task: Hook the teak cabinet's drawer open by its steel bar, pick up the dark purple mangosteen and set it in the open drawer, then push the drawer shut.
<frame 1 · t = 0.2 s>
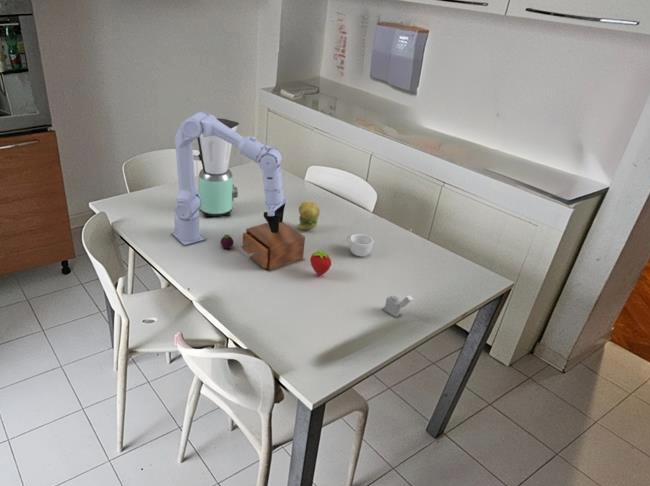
hand: (277, 227, 171), 10 cm above the table, tool pointing down, fingers open, 7 cm apart
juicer: (213, 211, 203), on the table
mangosteen: (226, 248, 179), on the table
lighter: (395, 315, 150), on the table
strawberry: (318, 276, 166), on the table
teacup: (357, 252, 179), on the table
cabinet: (273, 255, 176), on the table
hamburger: (307, 230, 192), on the table
drawer: (263, 247, 171), point 4 cm above the table, slide at 0.5 cm
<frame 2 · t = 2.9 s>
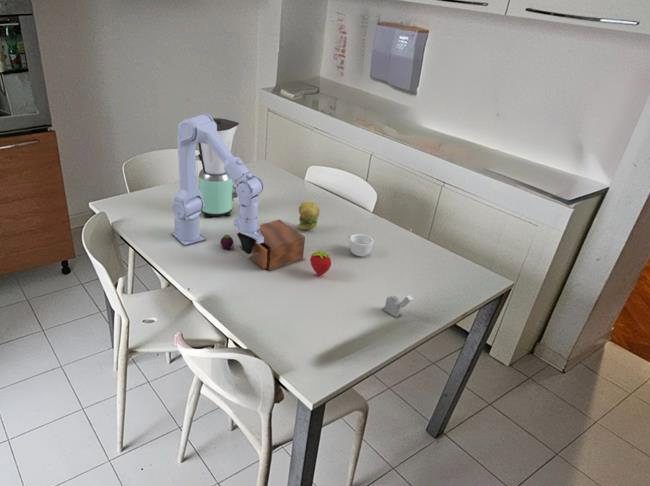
hand: (247, 253, 169), 4 cm above the table, tool pointing down, fingers closed, pressing on drawer
drawer: (262, 247, 171), point 4 cm above the table, slide at 0.7 cm, touching gripper
everything else where it was.
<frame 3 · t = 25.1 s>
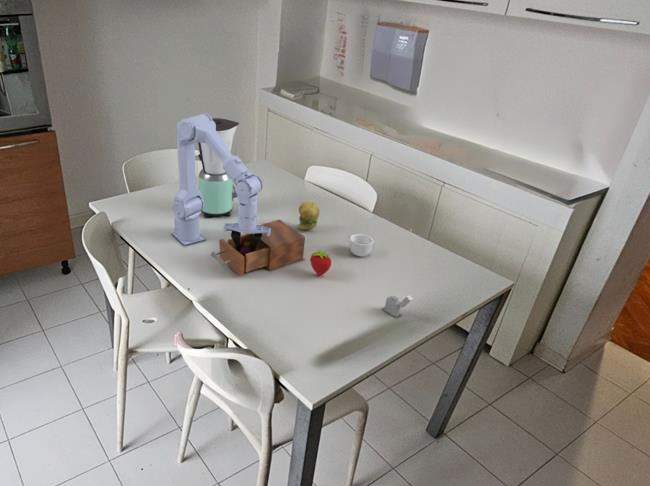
hand: (246, 252, 168), 4 cm above the table, tool pointing down, fingers closed on mangosteen, 4 cm apart
mangosteen: (246, 256, 169), point 3 cm above the table, touching gripper
drawer: (240, 254, 167), point 4 cm above the table, slide at 9.4 cm
everything else where it was.
when the fingers open (6 cm above the table, at t = 28.3 s): mangosteen drops 2 cm, resting on drawer.
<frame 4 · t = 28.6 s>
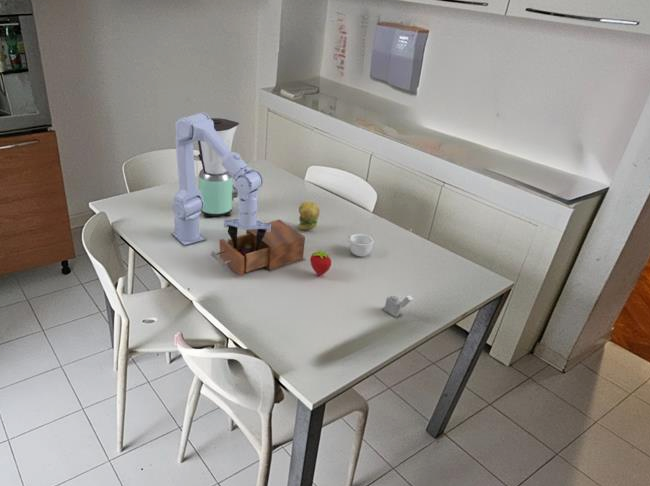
hand: (246, 248, 168), 6 cm above the table, tool pointing down, fingers open, 6 cm apart
mangosteen: (246, 258, 170), point 2 cm above the table, tilted 6°, touching drawer
drawer: (240, 254, 167), point 4 cm above the table, slide at 9.4 cm, touching mangosteen
everything else where it was.
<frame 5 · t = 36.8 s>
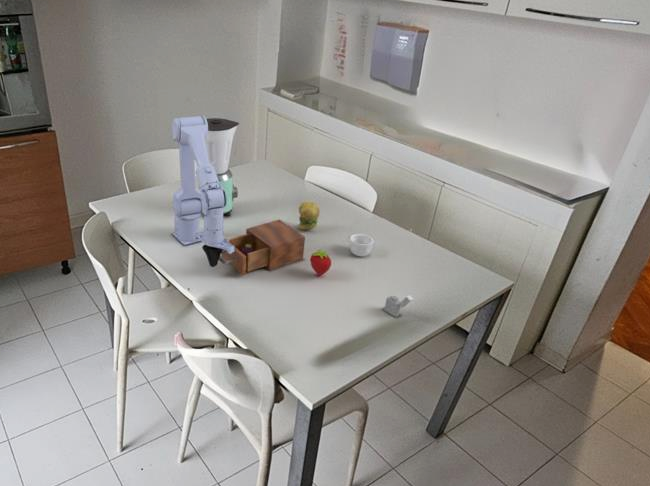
hand: (213, 265, 163), 3 cm above the table, tool pointing down, fingers closed
mangosteen: (247, 258, 170), point 2 cm above the table, touching drawer
drawer: (241, 254, 168), point 4 cm above the table, slide at 8.7 cm, touching gripper, mangosteen
everything else where it was.
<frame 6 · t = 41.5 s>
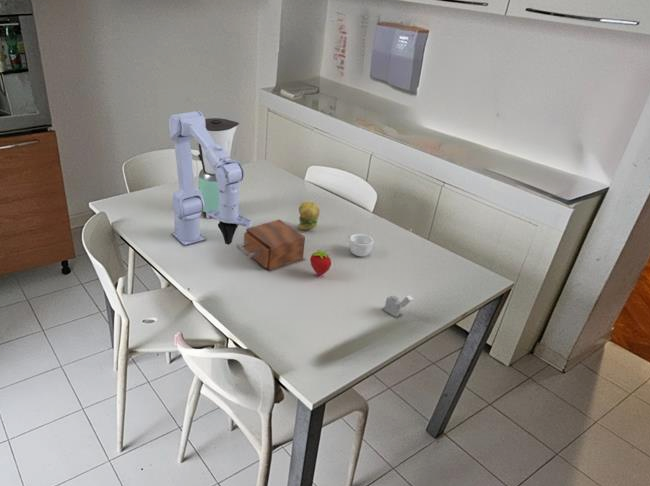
hand: (228, 242, 162), 10 cm above the table, tool pointing down, fingers closed
mangosteen: (269, 251, 174), point 2 cm above the table, touching drawer
drawer: (264, 247, 172), point 4 cm above the table, slide at 0.0 cm, touching mangosteen
everything else where it was.
at the end: drawer pulled out 9.5 cm at the most during the clip, back to where it started at the end; mangosteen inside the target area in the cabinet (1.6 cm from its centre), point 2.0 cm above the cabinet's base; drawer slide at 0.0 cm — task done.
